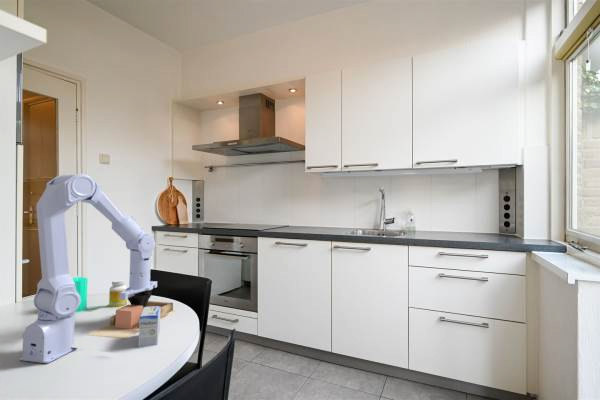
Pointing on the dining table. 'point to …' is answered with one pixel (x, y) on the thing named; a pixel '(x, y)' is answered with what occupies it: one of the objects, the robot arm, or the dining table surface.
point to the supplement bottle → (117, 293)
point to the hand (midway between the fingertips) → (138, 316)
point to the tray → (126, 333)
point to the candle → (81, 291)
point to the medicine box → (149, 326)
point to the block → (128, 316)
